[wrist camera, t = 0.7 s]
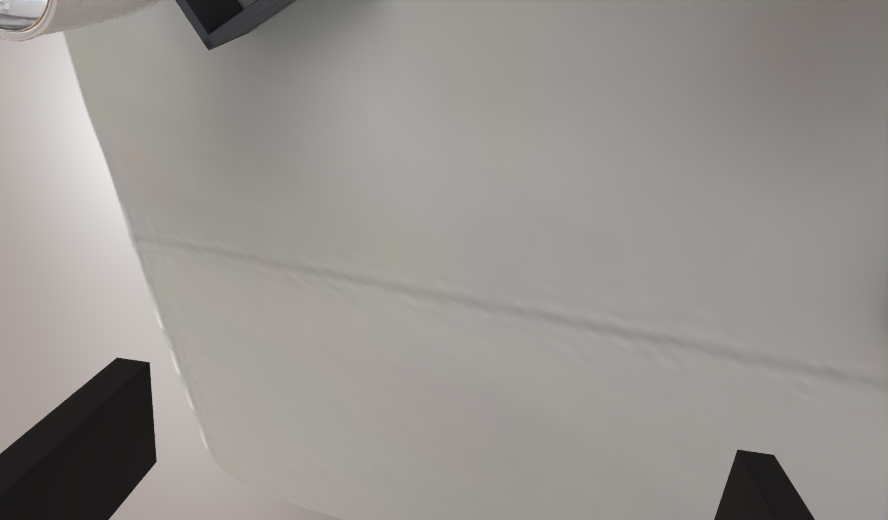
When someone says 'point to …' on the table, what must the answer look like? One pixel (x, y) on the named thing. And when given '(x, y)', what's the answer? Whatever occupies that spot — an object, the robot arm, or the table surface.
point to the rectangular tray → (227, 18)
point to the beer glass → (60, 15)
